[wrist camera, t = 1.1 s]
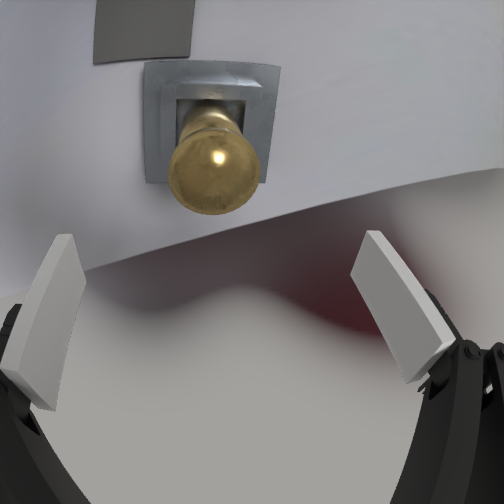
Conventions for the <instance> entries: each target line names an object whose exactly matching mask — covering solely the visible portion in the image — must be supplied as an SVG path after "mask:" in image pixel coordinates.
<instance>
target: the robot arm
mask: <svg viewBox="0 0 504 504" xmlns="http://www.w3.org/2000/svg"><path fill="white" fill-rule="evenodd" d="M351 277H352V279H353V280H354V282H355V284H356V286H357V288H358V289H359V291H360V293H361V295H362V297H363V299H364V300H365V302H366V304H367V306H368V308H369V310H370V312H371V313H372V315H373V317H374V319H375V321H376V323H377V325H378V327H379V329H380V331H381V333H382V335H383V337H384V338H385V340H386V342H387V344H388V346H389V348H390V350H391V353H392V354H393V357H394V359H395V361H396V363H397V365H398V367H399V369H400V371H401V373H402V375H403V377H404V380H405V382H406V384H408V383H411V382H414V381H417V380H420V379H421V378H422V377H423V376H424V375H425V374H426V373H427V372H428V373H429V375H430V377H429V378H428V379H427V380H426V381H425V382H424V383H423V384H422V385H421V386H420V387H419V389H418V392H420V391H421V390H422V389H423V388H424V387H426V388H425V391H424V392H423V393H422V394H424V397H423V401H422V406H421V410H420V414H419V418H418V422H417V426H416V429H415V433H414V436H413V440H412V443H411V447H410V450H409V453H408V456H407V459H406V462H405V465H404V468H403V471H402V474H401V476H400V479H399V482H398V485H397V487H396V490H395V492H394V494H393V497H392V499H391V502H390V504H504V344H503V343H500V342H497V343H496V344H495V345H494V346H493V347H492V348H491V349H490V350H484V349H480V348H479V347H478V345H477V344H476V343H474V342H473V341H470V340H463V339H462V337H461V336H460V334H459V332H458V331H457V329H456V328H455V326H454V325H453V323H452V321H451V320H450V318H449V317H448V315H447V314H445V311H444V310H443V308H442V307H441V306H440V304H439V302H438V300H437V299H436V298H435V296H434V295H433V294H431V293H430V292H429V291H428V290H427V289H423V288H422V286H421V285H420V283H419V282H418V281H417V279H416V278H415V276H414V275H413V274H412V272H411V271H410V270H409V268H408V267H407V266H406V264H405V263H404V262H403V260H402V259H401V258H400V256H399V255H398V254H397V252H396V251H395V250H394V248H393V247H392V246H391V245H390V243H389V242H388V241H387V239H386V238H385V237H384V236H383V234H382V233H381V232H380V231H366V234H365V237H364V240H363V243H362V245H361V248H360V251H359V253H358V256H357V259H356V262H355V264H354V267H353V269H352V272H351ZM86 283H87V281H86V278H85V275H84V272H83V269H82V266H81V263H80V259H79V256H78V252H77V249H76V245H75V242H74V238H73V234H57V236H56V238H55V239H54V241H53V243H52V245H51V247H50V249H49V250H48V252H47V254H46V256H45V258H44V260H43V262H42V264H41V266H40V268H39V270H38V272H37V274H36V276H35V278H34V280H33V282H32V284H31V286H30V288H29V291H28V293H27V295H26V297H25V299H24V302H23V304H15V305H14V306H13V308H12V309H11V310H10V311H9V312H8V314H7V316H6V318H5V321H4V323H3V327H2V328H1V331H0V504H91V503H90V502H89V501H88V499H87V498H86V497H85V496H84V494H83V493H82V492H81V490H80V489H79V488H78V486H77V485H76V484H75V482H74V481H73V479H72V478H71V476H70V475H69V474H68V472H67V471H66V469H65V468H64V466H63V465H62V463H61V462H60V460H59V458H58V457H57V455H56V454H55V452H54V450H53V449H52V447H51V445H50V444H49V442H48V440H47V438H46V437H45V435H44V433H43V431H42V430H41V428H40V426H39V424H38V422H37V420H36V418H35V416H34V414H33V413H32V411H31V410H30V404H31V402H32V403H33V404H34V405H35V406H36V407H37V408H40V409H44V410H50V411H55V410H56V404H57V398H58V392H59V386H60V381H61V376H62V370H63V366H64V362H65V357H66V353H67V349H68V345H69V341H70V337H71V333H72V329H73V326H74V322H75V318H76V315H77V311H78V308H79V305H80V301H81V298H82V295H83V292H84V288H85V286H86ZM491 384H492V387H493V390H492V391H490V392H489V393H488V394H487V392H486V388H487V387H488V386H490V385H491Z"/></svg>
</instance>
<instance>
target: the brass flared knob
mask: <svg viewBox="0 0 504 504" xmlns="http://www.w3.org/2000/svg"><path fill="white" fill-rule="evenodd" d="M259 180H260V164H259V160H258V157H257V155H256V153H255V151H254V149H253V147H252V146H251V144H250V143H249V142H248V141H247V140H246V139H245V138H244V137H243V136H242V134H241V132H240V130H239V127H238V125H237V123H236V121H235V119H234V117H233V115H232V113H231V111H230V110H229V109H228V107H226V106H225V105H224V104H222V103H220V102H218V101H214V100H206V101H201V102H199V103H197V104H195V105H193V106H192V107H191V108H190V109H189V110H188V112H187V113H186V115H185V118H184V122H183V126H182V130H181V134H180V139H179V143H178V145H177V147H176V148H175V150H174V152H173V154H172V157H171V160H170V164H169V169H168V181H169V185H170V188H171V191H172V193H173V194H174V196H175V197H176V199H177V200H178V201H179V202H180V203H181V204H182V205H184V206H185V207H186V208H188V209H190V210H192V211H194V212H197V213H200V214H206V215H219V214H225V213H228V212H231V211H233V210H235V209H237V208H239V207H241V206H242V205H243V204H245V203H246V202H247V201H248V200H249V199H250V198H251V197H252V195H253V194H254V192H255V190H256V188H257V186H258V183H259Z"/></svg>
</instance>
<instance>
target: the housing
mask: <svg viewBox="0 0 504 504" xmlns="http://www.w3.org/2000/svg"><path fill="white" fill-rule="evenodd" d="M280 70H281V67H279V66H274V65H266V64H256V63H244V62H229V61H201V60H181V61H153V62H146V63H144V149H145V170H146V183H169V181H168V169H169V164H170V160H171V157H172V154H173V152H174V150H175V148H176V147H177V145H178V143H179V139H180V134H181V130H182V126H183V122H184V118H185V115H186V113H187V112H188V110H189V109H190V108H191V107H192V106H193V105H195V104H197V103H199V102H201V101H206V100H214V101H218V102H220V103H222V104H224V105H225V106H226V107H228V109H229V110H230V111H231V113H232V115H233V117H234V119H235V121H236V123H237V125H238V127H239V130H240V132H241V134H242V136H243V137H244V138H245V139H246V140H247V141H248V142H249V143H250V144H251V146H252V147H253V149H254V151H255V153H256V155H257V157H258V160H259V164H260V180H259V183H265V181H266V174H267V167H268V159H269V152H270V145H271V137H272V130H273V122H274V115H275V108H276V100H277V93H278V85H279V78H280Z"/></svg>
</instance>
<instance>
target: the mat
mask: <svg viewBox="0 0 504 504" xmlns="http://www.w3.org/2000/svg"><path fill="white" fill-rule="evenodd" d="M194 6H195V0H97V6H96V17H95V31H94V54H93V64H95V63H102V62H110V61H118V60H127V59H138V58H152V57H177V56H190V48H191V36H192V25H193V15H194Z"/></svg>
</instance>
